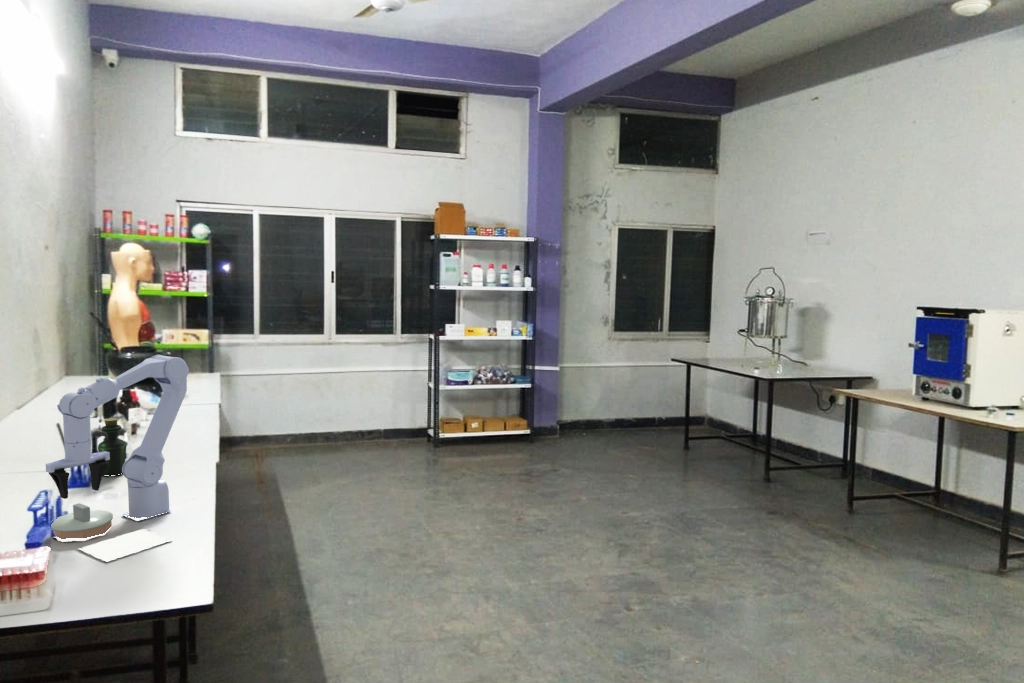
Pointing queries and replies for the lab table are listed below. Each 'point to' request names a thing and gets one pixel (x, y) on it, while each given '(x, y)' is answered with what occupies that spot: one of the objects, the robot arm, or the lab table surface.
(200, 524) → the lab table surface
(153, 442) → the robot arm
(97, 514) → the lid
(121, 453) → the potion bottle
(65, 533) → the bowl
